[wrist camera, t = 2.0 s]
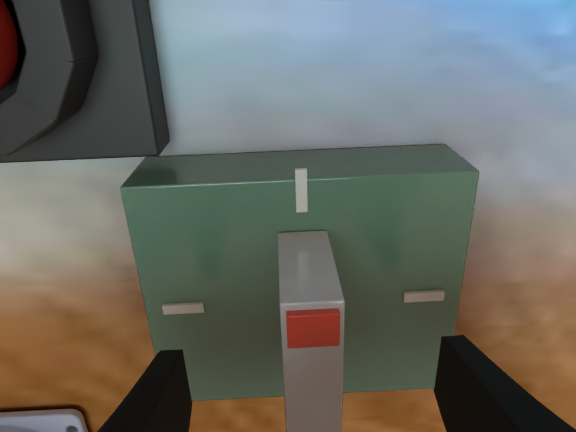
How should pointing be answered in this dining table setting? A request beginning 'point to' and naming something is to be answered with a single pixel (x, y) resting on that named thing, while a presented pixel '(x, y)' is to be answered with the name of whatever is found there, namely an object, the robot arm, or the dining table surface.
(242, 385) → the panel
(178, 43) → the dining table surface
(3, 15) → the button
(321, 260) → the white rectangular block
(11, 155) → the button housing
